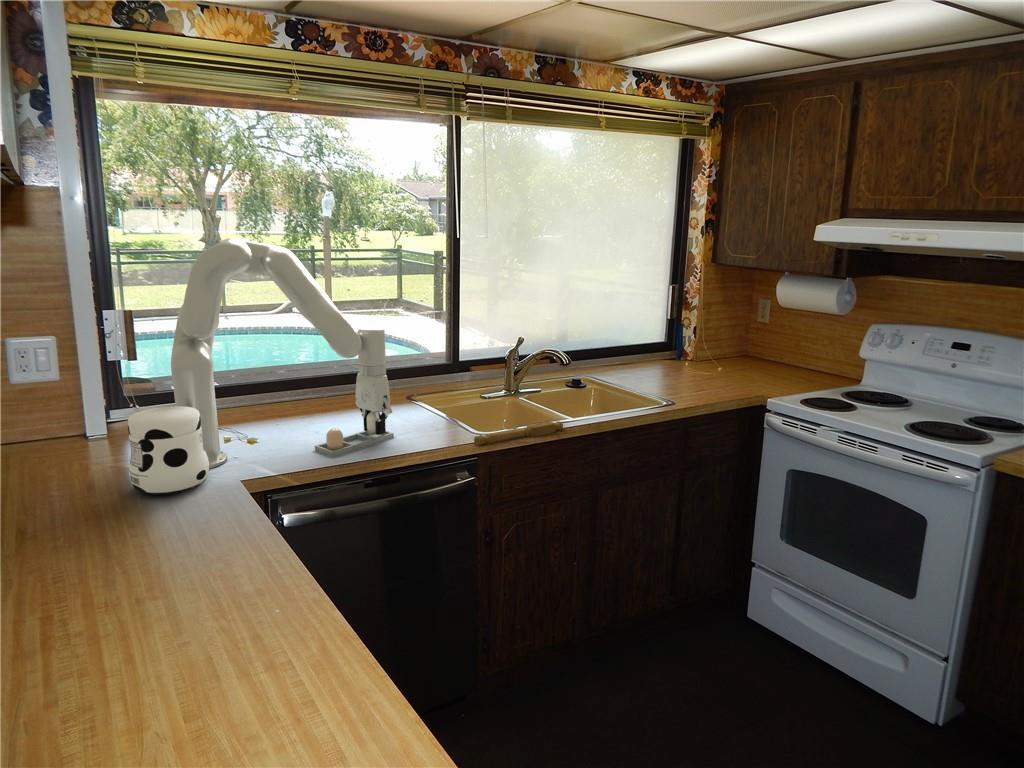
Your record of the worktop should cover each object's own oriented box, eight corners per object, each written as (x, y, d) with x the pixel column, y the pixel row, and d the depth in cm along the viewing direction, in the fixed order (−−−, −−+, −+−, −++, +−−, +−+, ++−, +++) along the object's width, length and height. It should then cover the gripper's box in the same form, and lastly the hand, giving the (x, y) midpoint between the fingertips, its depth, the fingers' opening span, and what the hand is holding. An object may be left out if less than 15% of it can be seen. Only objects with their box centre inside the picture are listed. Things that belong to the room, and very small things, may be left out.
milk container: (221, 473, 182) (214, 404, 178) (194, 501, 166) (186, 426, 161) (151, 473, 182) (143, 404, 177) (117, 501, 165) (107, 426, 161)
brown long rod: (473, 434, 207) (559, 419, 222) (473, 444, 208) (559, 428, 223) (478, 437, 204) (565, 421, 219) (478, 447, 205) (564, 431, 220)
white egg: (374, 435, 204) (373, 414, 203) (363, 432, 207) (363, 411, 206) (385, 431, 208) (385, 411, 206) (375, 428, 210) (374, 408, 209)
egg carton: (332, 461, 191) (331, 453, 191) (311, 454, 197) (311, 446, 196) (397, 440, 209) (397, 432, 208) (376, 434, 214) (376, 426, 214)
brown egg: (333, 454, 194) (332, 432, 193) (323, 450, 197) (322, 428, 195) (346, 450, 197) (345, 428, 196) (336, 446, 200) (335, 425, 199)
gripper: (342, 367, 205) (345, 428, 210) (382, 377, 195) (384, 441, 199) (363, 363, 211) (365, 423, 215) (402, 372, 201) (404, 434, 205)
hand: (374, 431), depth 207 cm, fingers closed on white egg, 4 cm apart
